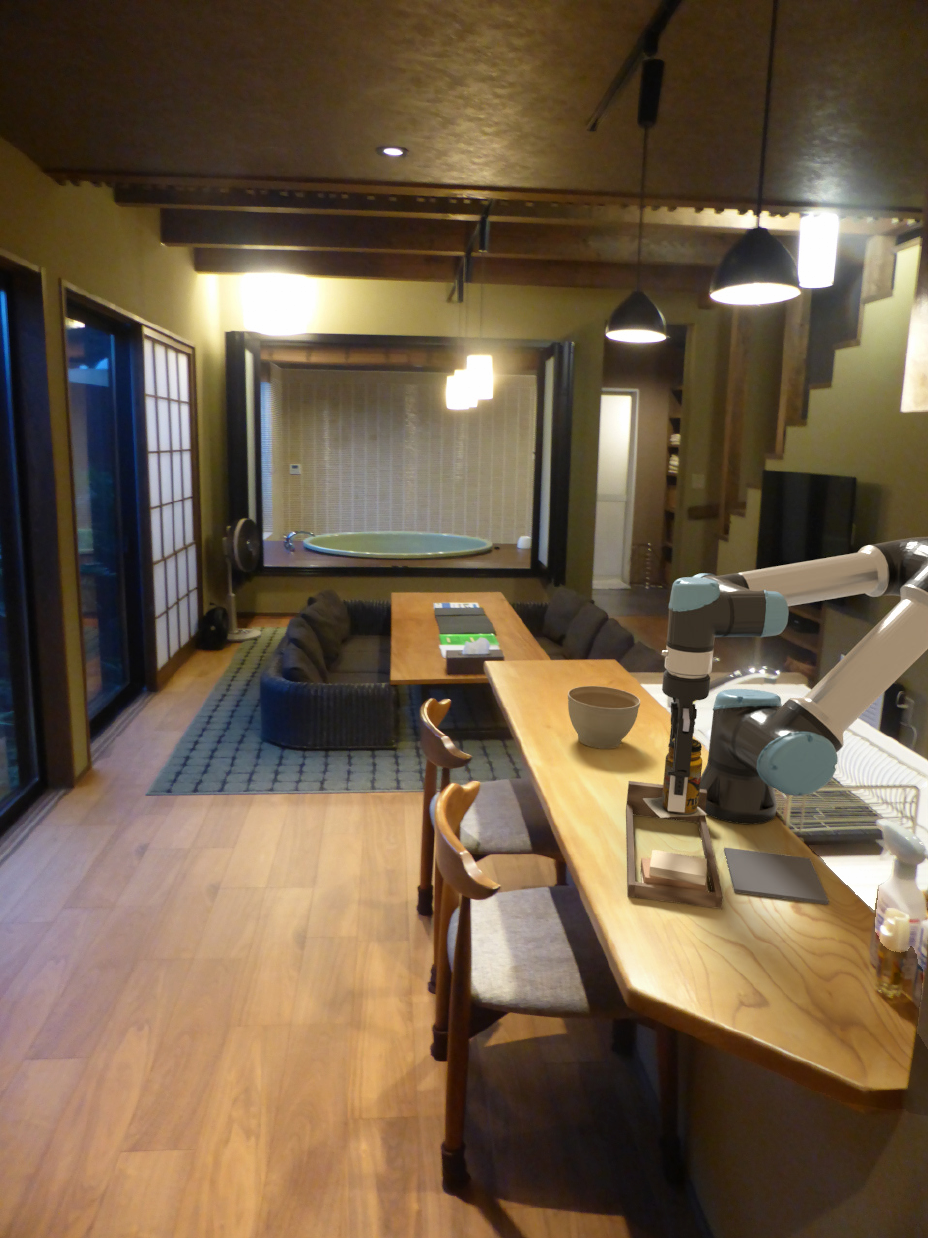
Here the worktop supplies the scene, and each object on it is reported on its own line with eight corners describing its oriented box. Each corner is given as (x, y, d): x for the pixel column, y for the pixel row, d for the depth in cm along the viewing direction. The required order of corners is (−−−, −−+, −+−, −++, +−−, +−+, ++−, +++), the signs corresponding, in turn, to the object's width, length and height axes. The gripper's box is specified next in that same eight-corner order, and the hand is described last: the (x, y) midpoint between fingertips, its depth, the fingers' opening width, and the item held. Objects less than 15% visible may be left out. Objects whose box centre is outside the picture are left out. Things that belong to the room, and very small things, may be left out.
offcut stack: (703, 881, 140) (706, 855, 139) (707, 904, 134) (711, 877, 132) (639, 873, 142) (642, 847, 141) (640, 895, 135) (643, 868, 134)
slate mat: (809, 861, 148) (809, 858, 148) (828, 904, 135) (828, 901, 135) (723, 850, 150) (724, 847, 150) (734, 892, 137) (734, 889, 137)
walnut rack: (702, 820, 162) (706, 789, 160) (721, 908, 132) (726, 872, 131) (625, 810, 164) (628, 780, 163) (627, 896, 134) (631, 860, 133)
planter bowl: (604, 761, 188) (608, 712, 185) (549, 738, 200) (553, 692, 197) (650, 745, 198) (655, 699, 196) (595, 725, 210) (599, 681, 208)
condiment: (707, 815, 147) (714, 748, 144) (660, 819, 145) (666, 750, 143) (687, 797, 154) (693, 732, 151) (642, 800, 152) (647, 735, 150)
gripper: (661, 655, 154) (650, 778, 159) (666, 687, 136) (654, 824, 141) (705, 658, 153) (692, 782, 158) (716, 691, 135) (702, 829, 140)
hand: (674, 802), depth 150 cm, fingers closed on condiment, 6 cm apart
